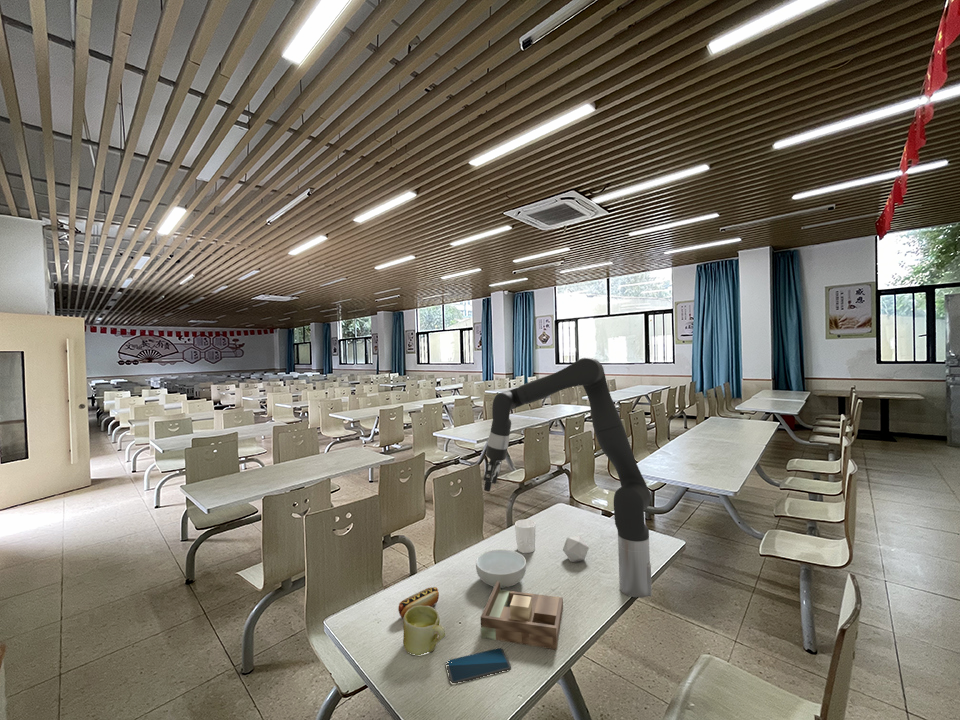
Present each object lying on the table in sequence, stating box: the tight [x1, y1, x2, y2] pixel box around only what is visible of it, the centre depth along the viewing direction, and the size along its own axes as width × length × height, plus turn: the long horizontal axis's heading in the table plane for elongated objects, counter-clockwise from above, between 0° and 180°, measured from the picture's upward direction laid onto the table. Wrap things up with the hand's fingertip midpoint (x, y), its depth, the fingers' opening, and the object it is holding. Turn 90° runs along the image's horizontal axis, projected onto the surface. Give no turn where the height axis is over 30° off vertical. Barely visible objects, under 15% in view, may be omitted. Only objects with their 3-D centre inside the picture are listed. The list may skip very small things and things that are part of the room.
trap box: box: [480, 581, 564, 650], centre depth 118 cm, size 20×18×6 cm
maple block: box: [510, 595, 532, 622], centre depth 115 cm, size 5×5×5 cm
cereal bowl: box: [475, 548, 527, 589], centre depth 139 cm, size 17×17×7 cm
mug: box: [402, 605, 447, 656], centre depth 109 cm, size 12×10×10 cm
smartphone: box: [445, 647, 512, 683], centre depth 102 cm, size 8×15×1 cm, turn 106°
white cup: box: [514, 518, 536, 554], centre depth 161 cm, size 8×8×10 cm
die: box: [562, 535, 590, 563], centre depth 152 cm, size 8×9×10 cm
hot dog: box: [397, 586, 440, 619], centre depth 125 cm, size 5×13×5 cm, turn 132°
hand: (490, 486), depth 155 cm, fingers open, 8 cm apart
